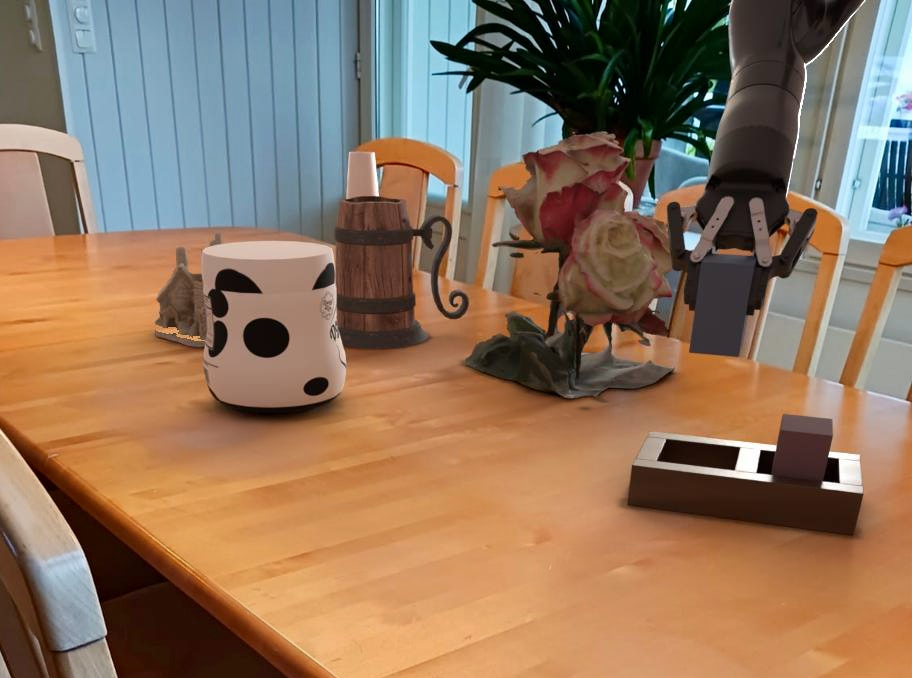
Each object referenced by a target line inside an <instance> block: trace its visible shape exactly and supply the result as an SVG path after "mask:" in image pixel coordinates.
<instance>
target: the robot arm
mask: <svg viewBox="0 0 912 678" xmlns="http://www.w3.org/2000/svg"><path fill="white" fill-rule="evenodd" d="M865 2H866V0H731V2H730V6H729V12H728V22H727V23H728V24H727V25H728V27H727V28H728V29H727V30H728V49H729V64H730V71H731V80H730V82H729V87H728V91H727V96H726V100H725V105H724V109H723V113H722V116H721V119H720V121H719V123H718V126H717V130H716V134H715V139H714V144H713V148H712V153H711V158H710V162H709V163H710V164H709V167H708V171H707V172H708V173H707V175H706V181H705V186H704V190H703V193H702V194H701V196H699V198H698V199H696V202H695V204H691V205H686V206H681V204H680V203H679V202H678V201H670V202H669V203H668V204H667V206H666V227H667V230H668V238H669V246H670V255H671V263H672V269H671V270H673V271H674V272H681V271H683V272H685V273H686V277H685V282H684V285H683V298H682V299H683V303H684V305H686V306H687V305H688V311H689V312H690V311H691V312H695V305H696V298H697V291H698V284H699V276H700V269H701V262H702V261H703V259H704V258H705V257H706V256H707V254H708V253H709V254H719V252H720V250H723V251H725V250H726V251H727V250H731V249H736V250H739V251H743V252H749V253H750V256H756V257H757V263H756V267H755V268H754V273H753V279H752V284H751V289H750V294H749V299H748V305H747V313H746V315H748V316H752V317H754V316H755V311H761V310H762V309H763V307H764V305H765V300H766V296H767V289H768V285H769V282H770V280H771V279H773V278H776V277H778V278H780V279H789V277H791V274H792V273H793V271H794V269H795V268H796V266H797V264H798V262H799V260H800V259H801V256H802V255H803V253H804V251H805V249H806V248H807V245H808V244H809V243H810V240H811V239H812V237H813V235H814V234H815V228H816V224H817V219H818V210H817V209H816V208H814V207H810V208H806V209H805V210H804V211H799V210H795V209H792V208H791V206H790V203H789V201H788V191H789V186H790V181H791V176H792V171H793V165H794V160H795V158H796V155H797V145H798V140H799V133H800V116H801V109H802V105H803V100H804V94H805V89H806V83H807V69H806V66H807V65H809V64H810V63H812V62H813V61H814V60H816V59H817V57H819V56H820V55H821V54H822V53H823V52H824V51H825V49H826V48H828V47H829V44H830V43H831V42H832V41H833V40H834V38H835V37H836V36H837V35H838V34H839V33H840V31H841V30H842V29H843V27H844V26H845V25H846V24H847V22H848V21H849V20H850V19H851V18H852V17H853V15H854V14H855V13H856V12H857V11H858V10H859V9H860V7H861V6H862V5H863V4H864V3H865ZM694 220H696V222H697V223H698V225H699V227H700V229H701V230H702V232H701V235H700V238H699V240H698V242H697V243H696V245H695V247H694V249H693V251H692V250H689V249H687V248H686V244H685V233H686V231H688V230H689V229H690V226H691V223H692V221H694ZM785 225H787V227H788V231H787V234H788V236H789V237H788V240H787V241H786V243H785V245H784V247H783V249H782V251H781V252H780V254H776V255H774V256H773V255H772V251H771V245H770V238H771V237H772V236H774V234H775V233H776V232H778V231H779V230H780V229H781V228H782V227H783V226H785Z"/></svg>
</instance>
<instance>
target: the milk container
mask: <svg viewBox="0 0 912 678" xmlns="http://www.w3.org/2000/svg"><path fill="white" fill-rule="evenodd" d="M209 246H210V245H209ZM209 246H207V247H204V248H203V249H204V250H203V251H202V256H200V257H201V259H200V261H201V263H200V266H201V269H200V270H201V271H200V273H201V274H202V280H203V284H204V285H203V294H204V302H205V309H206V317H207V336H206V342H205V346H204V347H203V348H204V349H203V358H202V366H203V374H204V378H205V382H206V385H207V387H208V391H209V392H210V394H211V396H212V397H213V398H214V400H216V401H217V402H218V403H219V404H221V405H223V406H225V407H226V406H227V407H229V408H231V409H234V410H237V411H238V410H239V411H245V412H251V413H259V414H260V413H261V414H263V413H264V414H265V413H267V414H280V413H282V414H283V413H295V412H300V411H308V410H311V409H316V408H319V407H321V406H325V405H328V404H330V403H331V402H332V401H333V400H335V399H337V397H339V396H340V395H341V394H342V392H343V389H344V388H345V384H346V383H345V382H346V375H347V356H346V351H345V348H344V347H345V346H343V344H342V341H341V337H340V334H339V330H338V324H337V307H336V300H337V295H336V262H335V256H334V251H333V248H332V247H331V246H329V245H326V244H320V243H315V242H306V241H295V240H293V241H291V240H250V241H234V242H227V243H223V244H219V245H214V246H210V247H209Z"/></svg>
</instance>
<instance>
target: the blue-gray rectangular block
mask: <svg viewBox="0 0 912 678" xmlns="http://www.w3.org/2000/svg"><path fill="white" fill-rule="evenodd" d="M756 263H757V257H756V256H751V255H745V254H744V255H743V254H730V253H729V254H727V253H717V254H709V253H708V254H707V256H706V257H705V258H704V259H703V261H702V262H701V269H700V276H699V284H698V291H697V298H696V305H695V311H693V312H694V313H693V321H692V327H691V333H690V334H691V335H690V342H689V349H688V354H699V355H709V356H710V355H711V356H722V357H734V358H739V357H740V355H741V352H742V349H743V346H744V341H745V336H746V330H747V324H748V318H749V315H746V313H747V305H748V299H749V294H750V289H751V284H752V279H753V273H754V268H755V267H756Z"/></svg>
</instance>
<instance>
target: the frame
mask: <svg viewBox="0 0 912 678" xmlns="http://www.w3.org/2000/svg"><path fill="white" fill-rule="evenodd" d="M776 446H777V444H776V445H774V444H767V443H759V442H758V443H757V442H749V441H741V440H732V439H722V438H714V437H707V436H706V437H705V436H696V435H688V434H687V435H686V434H678V433H670V432H660V431H653V430H652V431H651V430H649V432H648V433H647V435H646V438H645V440H644V441H643V443H642V446H641V447H640V449H639V451H638V452H637V455H636V457H635V458H634V459H633V462H632V464H631V469H630V477H629V478H630V479H629V485H628V494H627V502H626V503H627V504H626V505H628V506H635V507H641V508H648V509H655V510H663V511H671V512H677V513H685V514H693V515H698V516H699V515H700V516H708V517H716V518H722V519H729V520H730V519H731V520H738V521H745V522H751V523H752V522H753V523H757V524H758V523H760V524H765V525H766V524H767V525H774V526H781V527H790V528H795V529H804V530H812V531H817V532H818V531H819V532H824V533H825V532H826V533H834V534H841V535H847V536H854V534H855V531H856V527H857V522H858V519H859V515H860V511H861V507H862V502H863V498H864V494H865V493H864V484H863V474H862V473H863V472H862V465H861V464H862V463H861V455H860V454H855V453H846V452H837V451H830V452H829V456H828V461H827V465H826V470H825V474H824V479H823V481H815V480H807V479H799V478H790V477H782V476H774V475H771V472H772V466H773V461H774V456H775V451H776Z"/></svg>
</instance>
